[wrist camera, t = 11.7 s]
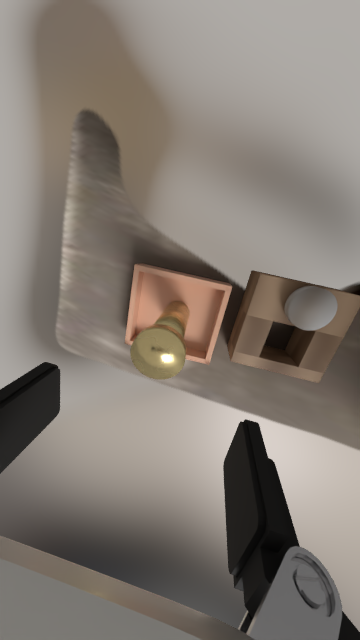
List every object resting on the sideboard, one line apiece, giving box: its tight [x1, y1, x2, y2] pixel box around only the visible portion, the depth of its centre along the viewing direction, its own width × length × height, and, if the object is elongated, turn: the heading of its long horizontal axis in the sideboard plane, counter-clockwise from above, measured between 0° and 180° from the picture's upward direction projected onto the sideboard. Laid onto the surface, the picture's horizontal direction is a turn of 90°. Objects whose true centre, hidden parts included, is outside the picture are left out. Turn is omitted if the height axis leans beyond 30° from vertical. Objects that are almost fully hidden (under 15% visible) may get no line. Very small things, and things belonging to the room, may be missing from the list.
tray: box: [125, 263, 232, 365], centre depth 25 cm, size 11×10×2 cm
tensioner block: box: [227, 271, 360, 383], centre depth 22 cm, size 10×10×6 cm
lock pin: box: [130, 301, 190, 379], centre depth 20 cm, size 4×4×11 cm
